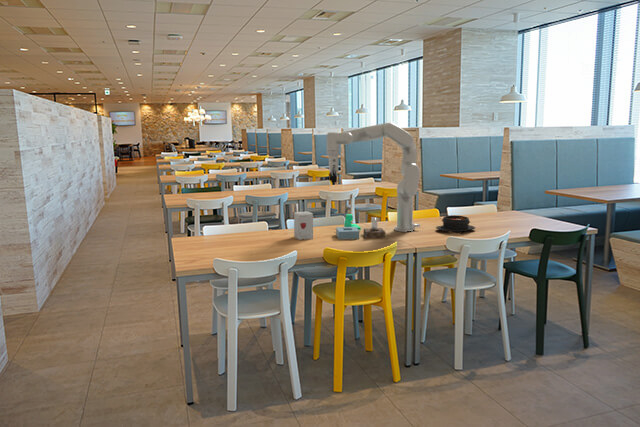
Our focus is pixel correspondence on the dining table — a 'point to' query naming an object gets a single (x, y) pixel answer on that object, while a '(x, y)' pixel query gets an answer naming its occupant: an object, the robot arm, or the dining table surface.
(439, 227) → the casserole
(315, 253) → the dining table surface
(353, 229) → the socket block
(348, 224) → the camera mount
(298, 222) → the supplement box
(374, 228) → the steel pin
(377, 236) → the walnut mount block
